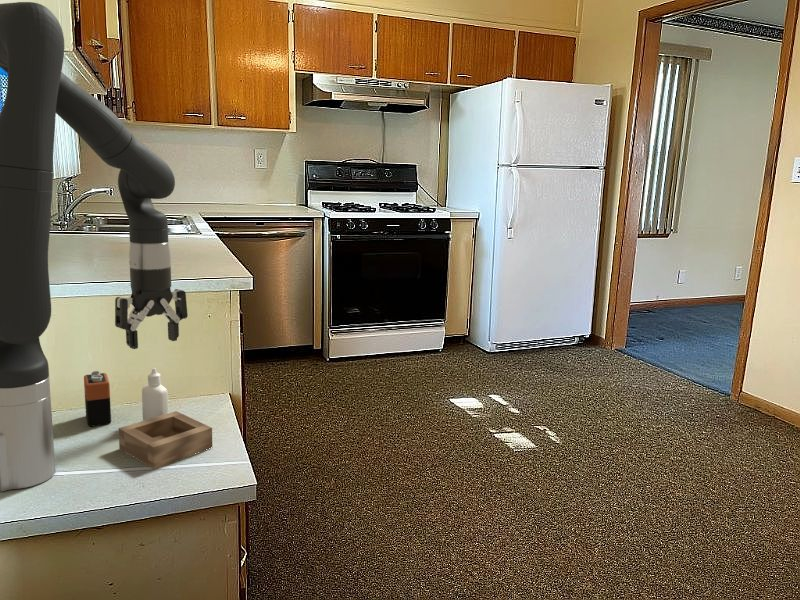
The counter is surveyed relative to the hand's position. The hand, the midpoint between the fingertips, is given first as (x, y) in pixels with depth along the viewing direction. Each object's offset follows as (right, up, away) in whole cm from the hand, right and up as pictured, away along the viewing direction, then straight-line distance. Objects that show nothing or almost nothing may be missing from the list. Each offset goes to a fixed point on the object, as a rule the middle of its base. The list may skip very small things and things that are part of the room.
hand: (153, 344), depth 125 cm
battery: (-13, -16, +4) cm, 21 cm away
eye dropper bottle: (-1, -17, +3) cm, 17 cm away
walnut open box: (+5, -20, -8) cm, 22 cm away
